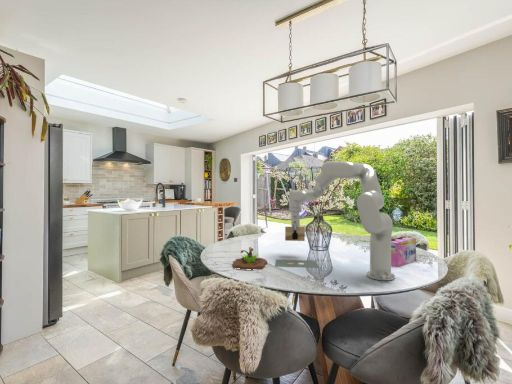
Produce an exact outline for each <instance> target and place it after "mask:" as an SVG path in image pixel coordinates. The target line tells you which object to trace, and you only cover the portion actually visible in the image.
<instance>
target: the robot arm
mask: <svg viewBox="0 0 512 384" xmlns="http://www.w3.org/2000/svg"><path fill="white" fill-rule="evenodd" d="M338 179H346V180H347V179H349V180H355V179H356V180H358V179H359V180H360V188H361V190H362V193H360V194H359V195H358V197H357V200H356V207H357V210H358V211H357V212H358V215H359V218H360V222H361V226H362V227H363V229H364V231H365V232H366V233H367V234H370V240H369V270H368V271H367V272H366V276H367V277H368V278H370V279H373V280H377V281H384V282H385V281H387V282H388V281H393V280H395V276H396V275H395V274H394V273H392V266H391V239H392V235H393V227H394V225H393V219H392V218H391V216H390V215H389V214H388V213H386V212H380V210H381V209H382V208H383V207H384V205H385V198H384V195H383V192H382V189H381V186H380V183H379V179H378V175H377V172H376V170H375V169H374V168H373V166H371V165H370V164H368V163H364V162H363V163H361V162H354V161H337V160H336V161H333V160H327V161H325V162H323V164H322V165H321V168H320V173H319V174H318V175H317V176H316V177H315V182H316V184H315V185H314V186H313V187H312V188H311V189H292V190H291V189H290V190H289V192H288V213H290V223H291V227H292V228H293V227H294V228H293V233H292V239H298V233H297V228H296V227H298V228H300V227H301V226H300V225H301V224H300V223H301V222H300V219H301V218H300V213H302V203H313V202H315V201H317V199H319V198H320V197H321V196H323V195H324V194H325V191H326V189H327V188H328V187H329V186H330V185H332V183H333V182H335V181H336V180H338Z"/></svg>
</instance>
